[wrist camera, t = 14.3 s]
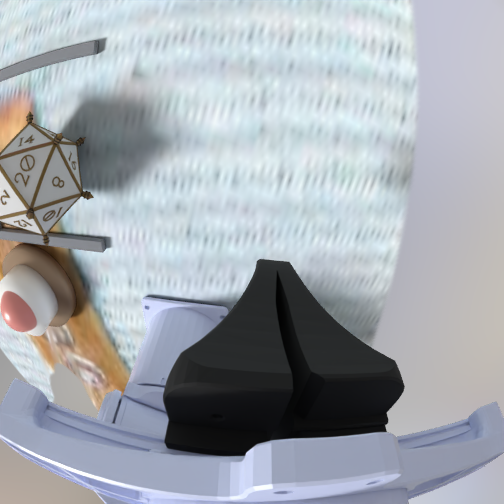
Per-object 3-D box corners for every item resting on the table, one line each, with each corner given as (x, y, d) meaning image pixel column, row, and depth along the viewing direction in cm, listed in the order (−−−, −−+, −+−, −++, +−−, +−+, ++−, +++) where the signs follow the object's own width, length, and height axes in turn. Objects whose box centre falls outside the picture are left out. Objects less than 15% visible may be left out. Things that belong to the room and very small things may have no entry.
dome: (65, 322, 26) (46, 356, 21) (23, 310, 25) (2, 339, 21) (46, 269, 22) (18, 302, 18) (3, 260, 22) (-24, 288, 18)
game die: (76, 134, 21) (8, 79, 11) (136, 172, 20) (57, 105, 10) (26, 218, 20) (-54, 192, 11) (76, 272, 20) (-24, 261, 10)
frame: (105, 248, 23) (102, 252, 22) (-1, 235, 22) (-4, 238, 22) (98, 41, 14) (94, 40, 13) (-19, 80, 13) (-23, 81, 13)
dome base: (86, 325, 28) (80, 334, 27) (25, 309, 28) (20, 316, 26) (63, 248, 23) (54, 256, 21) (0, 239, 22) (-8, 246, 21)
